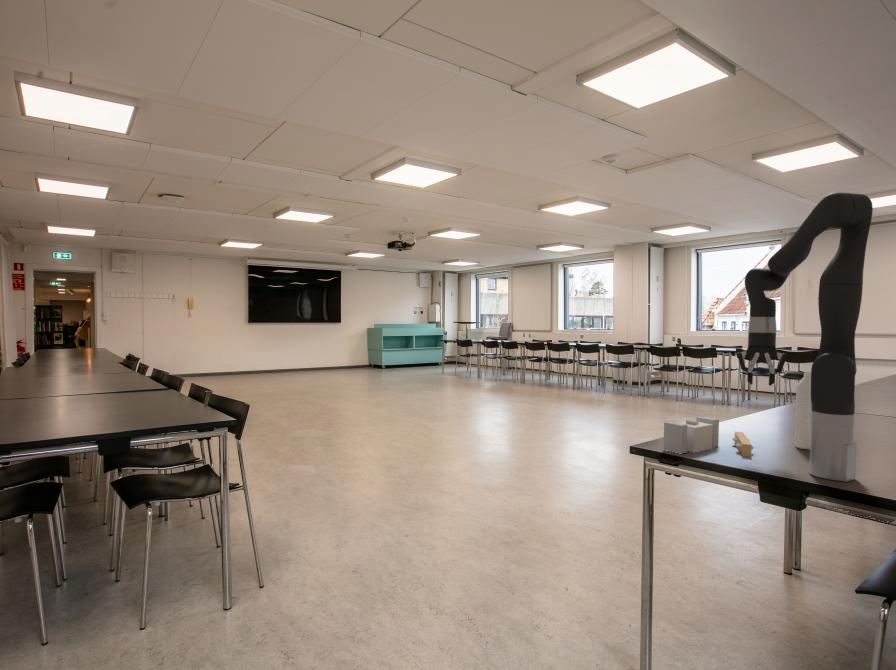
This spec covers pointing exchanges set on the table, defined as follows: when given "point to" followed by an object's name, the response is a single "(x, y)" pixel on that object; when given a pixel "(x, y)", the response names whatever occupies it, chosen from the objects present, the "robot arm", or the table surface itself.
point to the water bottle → (803, 413)
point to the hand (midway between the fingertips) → (760, 384)
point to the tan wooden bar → (743, 444)
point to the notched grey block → (691, 435)
